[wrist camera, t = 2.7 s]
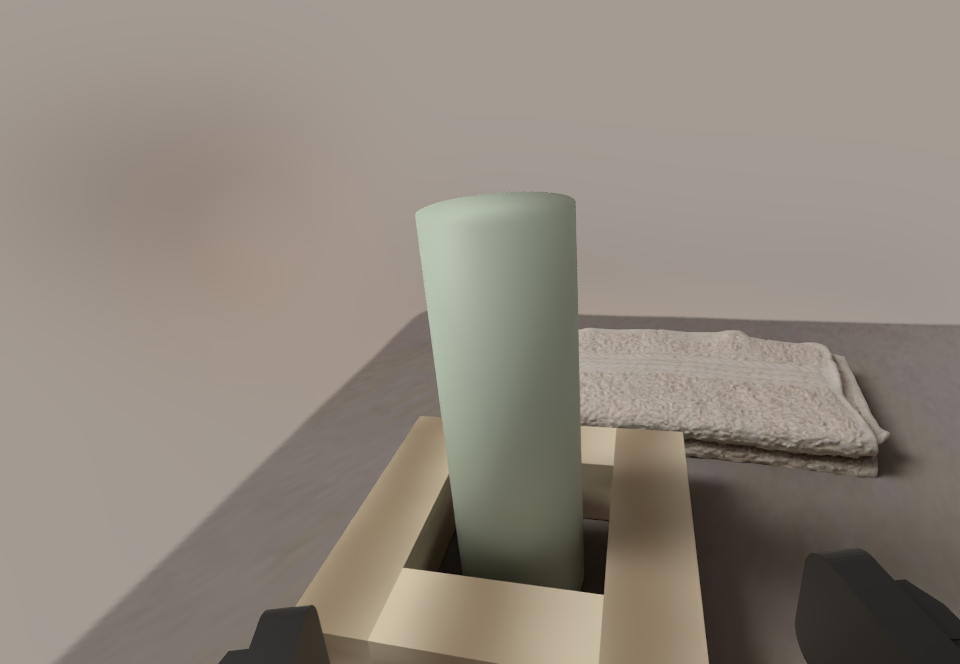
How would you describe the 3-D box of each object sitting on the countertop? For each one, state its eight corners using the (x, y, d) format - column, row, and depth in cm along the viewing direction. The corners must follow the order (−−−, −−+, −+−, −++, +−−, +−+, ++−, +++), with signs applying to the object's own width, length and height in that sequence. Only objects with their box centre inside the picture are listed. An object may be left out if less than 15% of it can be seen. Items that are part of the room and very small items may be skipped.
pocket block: (679, 485, 28) (682, 432, 27) (705, 772, 16) (713, 701, 15) (426, 463, 31) (419, 416, 30) (301, 689, 20) (282, 625, 19)
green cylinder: (589, 534, 25) (582, 189, 20) (577, 631, 21) (565, 221, 15) (479, 522, 27) (443, 195, 21) (447, 611, 22) (390, 227, 17)
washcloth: (896, 491, 27) (909, 435, 26) (522, 451, 32) (518, 403, 31) (835, 375, 37) (843, 331, 36) (560, 360, 43) (558, 321, 42)
